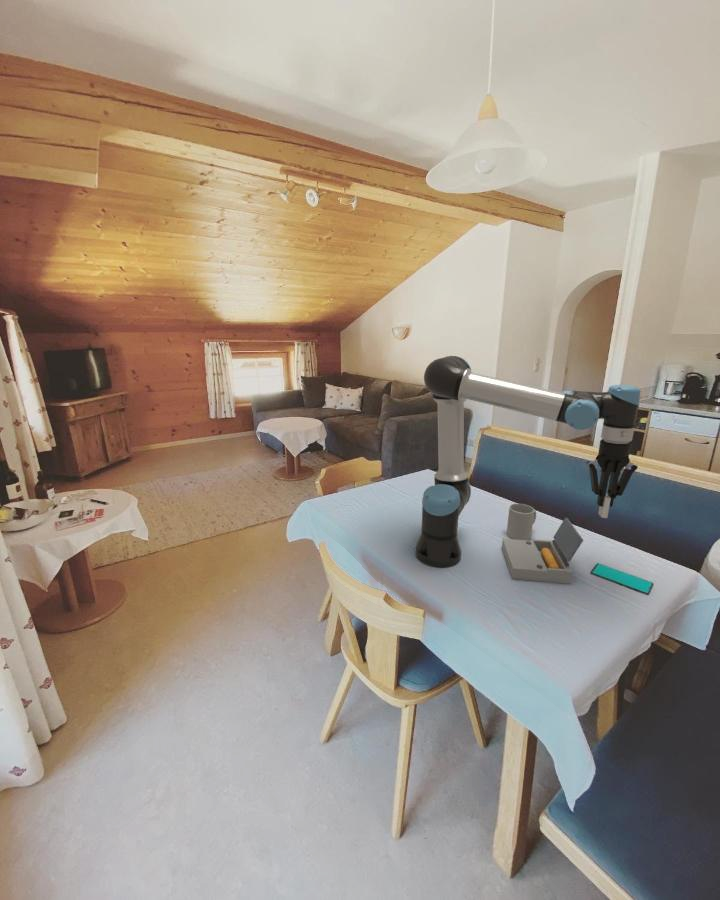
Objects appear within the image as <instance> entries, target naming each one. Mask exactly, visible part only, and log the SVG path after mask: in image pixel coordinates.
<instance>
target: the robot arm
mask: <svg viewBox="0 0 720 900" xmlns="http://www.w3.org/2000/svg"><path fill="white" fill-rule="evenodd" d="M423 381H424V385H425V387H426V389H427V390H428V391H429V392H430V393H431V394H432V399H433V401H435V402H436V404H437V447H438V449H437V451H438V456H437V457H438V459H437V461H438V470H437V471H436V472H435V473H434V474H433V476H434V478H433V479H434V480H433V481H434V485H431V486H428V487H427V488H426V489H425V490H424V491H423V493H422V494H423V496H422V500H421V505H422V506H421V507H422V508H421V509H422V510H421V533H420V535H419V537H418V540H417V542H416V545H415V556H416V558H417V559H418V561H420V563H423V564H425V565H428V566H430V567H435V568H448V567H453V566H455V565H457V564H459V562H460V561H461V559H462V549H461V544H460V541H459V538H458V528H459V527H458V526H459V525H458V524H459V516H460V515H461V513H462V511H463V510H464V508H465V507H466V505H467V504H468V503H469V501H470V498H471V493H472V488H471V484H470V482H469V474H468V473H467V471H465V469H464V467H465V466H464V464H465V463H464V461H465V460H464V455H465V454H464V453H465V450H464V447H465V445H464V444H465V443H464V441H465V440H464V438H465V437H464V436H465V435H464V434H465V433H464V430H465V428H464V427H465V426H464V425H465V423H464V422H465V421H464V420H465V418H464V417H465V416H464V415H465V411H464V410H465V408H464V407H465V406H464V405H465V402H466V401H467V400H469V401H473V402H478V403H482V404H486V405H489V406H494V407H499V408H502V409H507V410H510V411H514V412H518V413H523V414H526V415H532V416H535V417H538V418H543V419H546V420H547V419H548V420H552V421H555V422H559V423H562V424H566V425H568V426H570V428H573V429H575V430H577V431H583V430H589V429H590V428H592V427H594V426H595V425H596V424H597V422H598V420H600V419H601V420H603V422H602V427H601V428H602V429H601V434H600V438H601V439H600V441H599V445H598V454H597V455H596V456H595V459H594V460H592V461H587V462H586V466H587V468H588V469H589V477H590V484H591V485H590V486H591V491H592V492H593V493H594V494H595V495H597V501H596V504H597V505H598V507H599V509H598V513H597V514H598V515H599V516H600V518H602V519H608V517H609V511H610V508H612V507H613V506H614V500H615V499H616V498H617V496H623V494H624V492H625V489H627V488H626V487H627V486H628V484H629V481H630V479H631V477H632V475H633V473H634V472H636V470H637V469H638V466H637V465H636V464H635V463H633V462H631V460H630V454H631V449H632V443H631V442H632V441H633V437H634V432H635V427H636V421H637V417H638V412H639V411H638V410H639V408H640V407H639V406H640V400H641V399H640V398H641V392H642V391H641V389H640V388H639V387H638V386H635V385H630V384H628V385H627V384H613V385H610V386H609V387H608V390H607V391H604V392H603V391H601V392H600V391H583V390H582V391H580V390H573V389H572V390H563V391H561V392H559V391H556V390H551V389H546V388H541V387H538V386H537V387H536V386H533V385H528V384H524V383H521V382H520V383H519V382H515V381H511V380H505V379H501V378H498V377H497V378H496V377H492V376H488V375H483V374H478V373H473V371H472V368H471V365H470V363H469V362H468V360H466V359H464V358H462V357H460V356H457V355H447V356H444V357H440V358H436V359H434V360H433V361H432V362H430V363H429V364H428V365H427V367H426V368H425V371H424V373H423ZM598 466H599V467H600V477H599V476H598V470H597V469H598ZM623 469H624V470H623ZM622 470H623V471H622ZM621 471H622V474H621Z"/></svg>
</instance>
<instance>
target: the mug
mask: <svg viewBox="0 0 720 900" xmlns="http://www.w3.org/2000/svg"><path fill="white" fill-rule="evenodd" d="M536 520H537V510H536V509H535V508H534V507H532V506H530V505H528V504H526V503H525V504H524V503H512V504H510V506H509V508H508V517H507V524H506V526H507V527H506V535H507V537H509V539H516V540H529V541H530V539H531V538H532V534H533V525H534V524H535V523H536Z"/></svg>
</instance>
